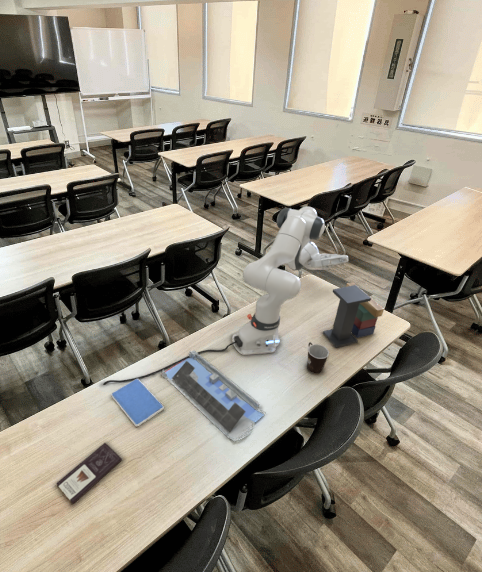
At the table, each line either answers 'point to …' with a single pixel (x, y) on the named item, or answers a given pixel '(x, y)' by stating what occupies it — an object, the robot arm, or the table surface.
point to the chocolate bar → (88, 473)
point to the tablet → (137, 402)
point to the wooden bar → (371, 305)
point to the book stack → (363, 323)
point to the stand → (346, 315)
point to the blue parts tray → (215, 396)
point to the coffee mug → (316, 357)
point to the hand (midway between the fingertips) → (338, 260)
